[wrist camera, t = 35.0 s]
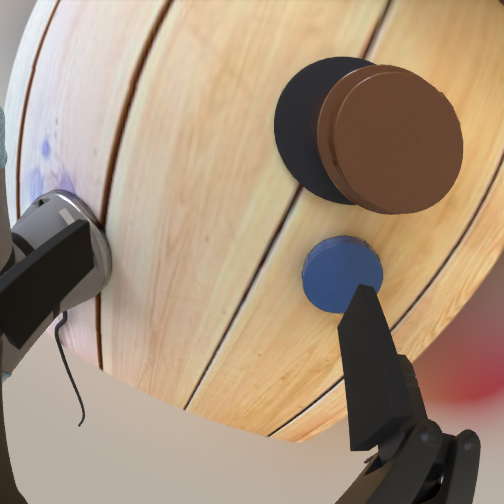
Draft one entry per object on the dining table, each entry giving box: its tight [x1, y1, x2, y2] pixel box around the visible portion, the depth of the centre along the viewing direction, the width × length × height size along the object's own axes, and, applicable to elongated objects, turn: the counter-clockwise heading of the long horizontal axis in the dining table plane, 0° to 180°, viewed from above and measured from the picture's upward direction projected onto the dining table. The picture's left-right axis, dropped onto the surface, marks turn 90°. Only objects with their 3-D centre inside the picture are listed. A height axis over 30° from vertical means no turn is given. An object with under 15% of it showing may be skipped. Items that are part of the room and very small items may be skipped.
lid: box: [302, 235, 383, 313], centre depth 26 cm, size 8×8×2 cm
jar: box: [308, 65, 463, 215], centre depth 15 cm, size 8×8×12 cm
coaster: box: [274, 57, 376, 205], centre depth 20 cm, size 13×13×1 cm
